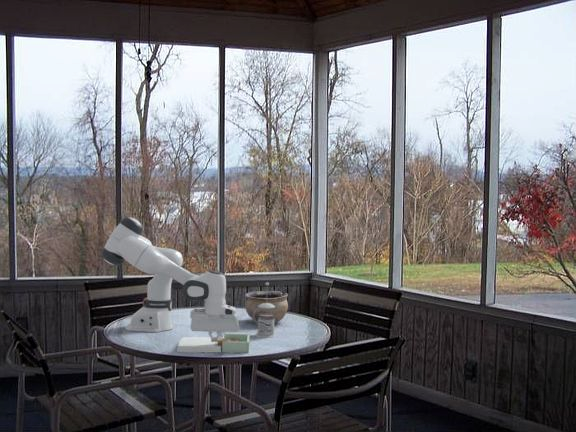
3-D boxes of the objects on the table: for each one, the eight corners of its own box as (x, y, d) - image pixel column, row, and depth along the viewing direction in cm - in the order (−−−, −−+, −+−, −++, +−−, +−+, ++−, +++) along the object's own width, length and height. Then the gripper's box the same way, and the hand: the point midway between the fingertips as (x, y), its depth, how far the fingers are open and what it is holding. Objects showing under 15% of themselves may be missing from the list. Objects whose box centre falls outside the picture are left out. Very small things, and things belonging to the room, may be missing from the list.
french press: (271, 338, 295) (273, 284, 294) (248, 336, 299) (249, 282, 298) (279, 334, 305) (280, 281, 304) (256, 331, 309) (258, 280, 308)
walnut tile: (226, 346, 278) (226, 341, 277) (227, 343, 283) (227, 338, 282) (238, 346, 278) (238, 341, 278) (238, 343, 283) (238, 339, 283)
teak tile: (217, 345, 270) (217, 340, 270) (218, 342, 275) (218, 337, 275) (229, 346, 270) (229, 341, 270) (229, 343, 275) (230, 339, 275)
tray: (222, 352, 269) (222, 341, 269) (224, 343, 284) (224, 333, 284) (248, 352, 269) (248, 342, 269) (249, 344, 284) (249, 334, 284)
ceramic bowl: (294, 326, 324) (294, 296, 323) (252, 328, 316) (253, 298, 315) (278, 317, 344) (279, 289, 344) (239, 319, 336) (240, 290, 336)
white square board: (177, 352, 268) (177, 346, 268) (182, 342, 284) (182, 337, 284) (220, 352, 268) (220, 346, 268) (223, 343, 284) (223, 337, 284)
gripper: (189, 310, 268) (188, 342, 269) (238, 311, 269) (237, 343, 269) (191, 307, 275) (190, 339, 275) (239, 308, 275) (238, 340, 276)
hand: (214, 341), depth 272 cm, fingers closed
